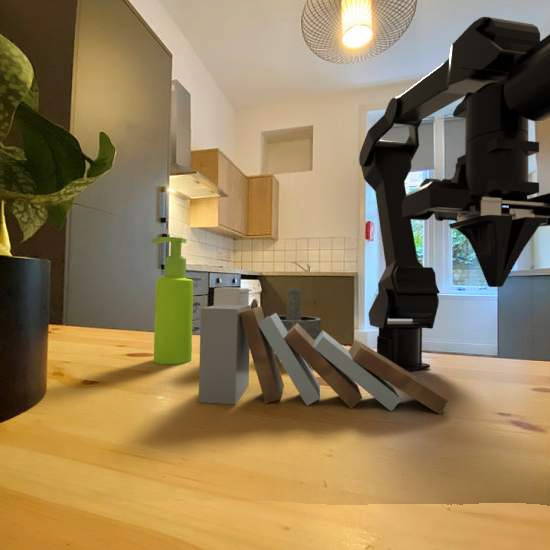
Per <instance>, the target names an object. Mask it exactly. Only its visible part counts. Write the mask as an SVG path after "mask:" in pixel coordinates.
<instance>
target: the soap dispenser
mask: <svg viewBox="0 0 550 550" xmlns="http://www.w3.org/2000/svg"><path fill="white" fill-rule="evenodd" d="M150 242H152V243H154V244H162V243H170V248H169V255H168V256H167V257H164V269H163V270H164V271H163V273H164V275H163V276H164V277H160V278H157V279H156V280H155V297H154V299H155V301H154V302H155V303H154V304H155V305H154V337H153V338H154V340H153V341H154V342H153V363H155V364H160V365H181V364H185V363H189V362H191V361H192V356H193V355H192V350H193V348H192V346H193V317H194V316H193V314H194V313H193V310H194V308H193V307H194V280H193V279H190V278H188V277H187V275H186V274H187V258H184V256H182V243H183V244H187V239H186V238H183V237H175V236H174V237H173V236H161V237H155V238H152V239H150Z"/></svg>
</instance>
